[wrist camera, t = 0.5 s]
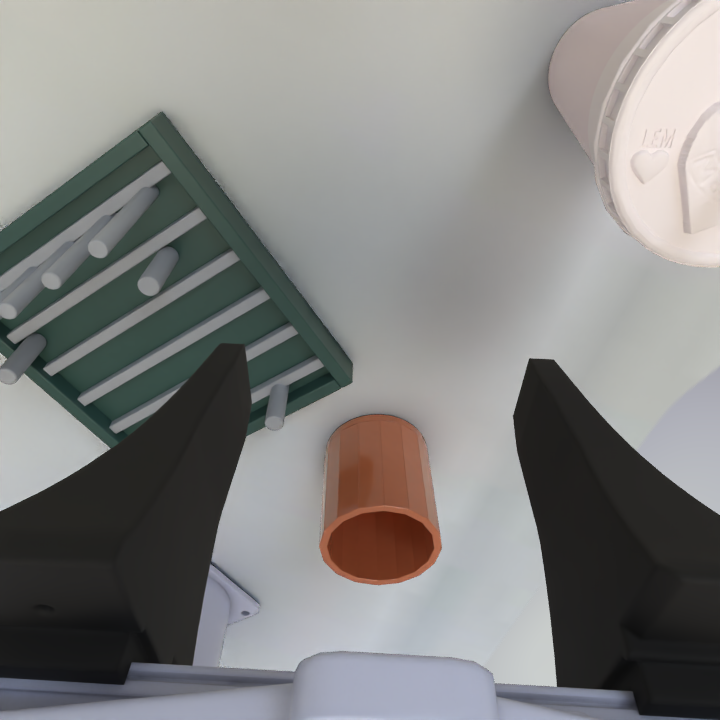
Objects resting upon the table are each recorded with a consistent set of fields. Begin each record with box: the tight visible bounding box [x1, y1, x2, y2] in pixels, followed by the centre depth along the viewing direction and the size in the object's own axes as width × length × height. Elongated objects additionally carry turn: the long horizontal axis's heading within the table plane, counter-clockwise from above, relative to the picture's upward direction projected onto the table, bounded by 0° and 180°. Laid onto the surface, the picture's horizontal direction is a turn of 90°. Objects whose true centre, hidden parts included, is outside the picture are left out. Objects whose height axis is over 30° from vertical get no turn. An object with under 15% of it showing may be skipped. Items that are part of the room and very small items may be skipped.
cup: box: [319, 414, 442, 585], centre depth 28 cm, size 5×5×6 cm
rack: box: [0, 112, 353, 448], centre depth 23 cm, size 12×13×6 cm
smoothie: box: [548, 0, 720, 267], centre depth 14 cm, size 6×6×14 cm
